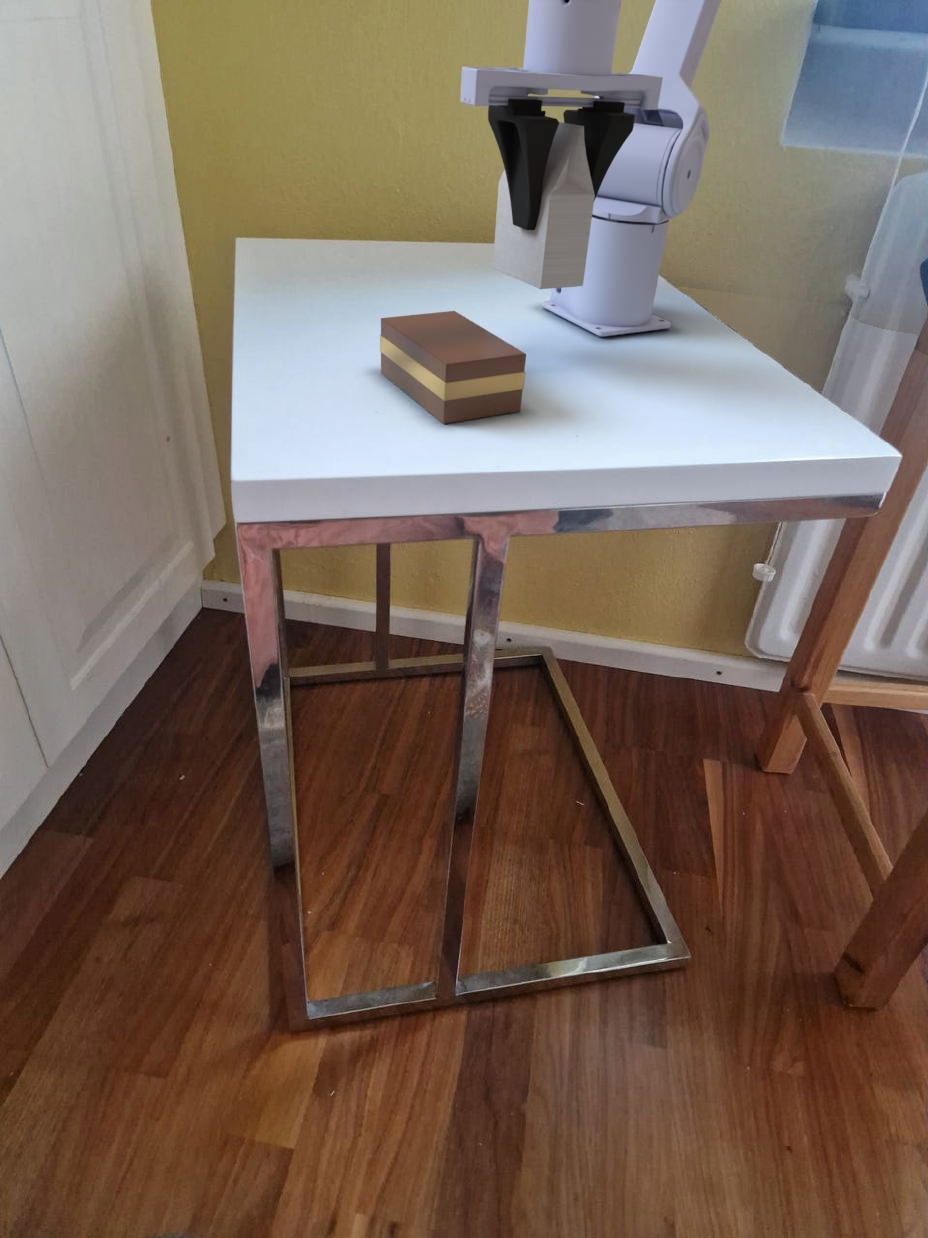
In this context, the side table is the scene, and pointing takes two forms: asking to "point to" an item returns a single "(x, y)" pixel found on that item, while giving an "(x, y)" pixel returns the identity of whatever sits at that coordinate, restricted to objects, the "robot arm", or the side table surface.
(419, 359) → the snack box
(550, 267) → the white milk carton
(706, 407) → the side table surface
